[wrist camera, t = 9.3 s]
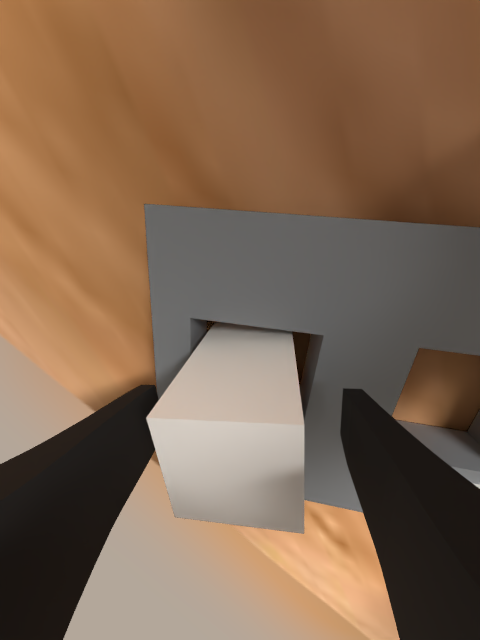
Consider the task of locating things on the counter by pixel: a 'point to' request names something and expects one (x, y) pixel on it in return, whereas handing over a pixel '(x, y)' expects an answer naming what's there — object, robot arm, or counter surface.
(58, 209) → the counter surface
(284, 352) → the plug
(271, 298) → the socket board
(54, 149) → the counter surface
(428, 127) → the counter surface
